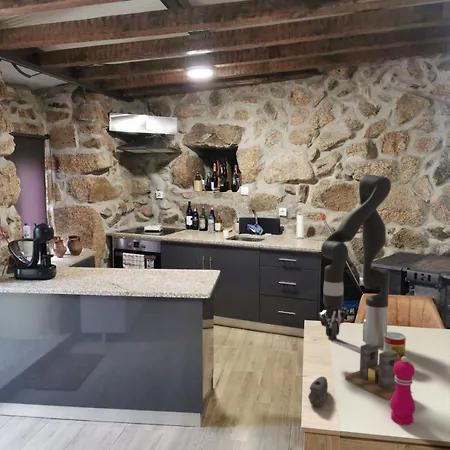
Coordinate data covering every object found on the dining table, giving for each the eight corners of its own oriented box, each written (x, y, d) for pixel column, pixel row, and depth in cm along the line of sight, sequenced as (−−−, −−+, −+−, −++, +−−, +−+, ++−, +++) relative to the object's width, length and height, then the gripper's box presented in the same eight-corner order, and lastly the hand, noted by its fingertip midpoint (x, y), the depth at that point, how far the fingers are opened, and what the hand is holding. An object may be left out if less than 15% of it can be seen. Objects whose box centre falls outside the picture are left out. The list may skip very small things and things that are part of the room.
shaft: (326, 341, 178) (326, 321, 177) (332, 339, 180) (332, 320, 179) (366, 358, 162) (367, 336, 161) (372, 356, 163) (373, 334, 163)
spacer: (367, 380, 161) (368, 367, 160) (377, 377, 164) (377, 364, 163) (374, 384, 158) (375, 370, 158) (384, 380, 161) (384, 367, 161)
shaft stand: (345, 379, 165) (346, 344, 164) (367, 371, 172) (368, 337, 170) (386, 400, 150) (388, 361, 149) (409, 390, 157) (410, 353, 155)
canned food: (408, 367, 175) (410, 337, 174) (393, 370, 172) (394, 340, 171) (394, 359, 182) (395, 330, 181) (378, 362, 179) (379, 333, 178)
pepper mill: (385, 413, 142) (387, 352, 140) (407, 412, 143) (410, 351, 140) (395, 426, 135) (398, 362, 132) (419, 425, 135) (422, 361, 133)
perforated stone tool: (317, 387, 159) (317, 369, 158) (332, 391, 157) (332, 371, 156) (305, 408, 146) (305, 387, 145) (321, 411, 143) (322, 390, 143)
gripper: (339, 287, 182) (338, 329, 184) (313, 293, 175) (312, 336, 177) (353, 291, 176) (352, 334, 178) (327, 297, 168) (326, 342, 170)
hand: (332, 335), depth 177 cm, fingers closed on shaft, 3 cm apart
